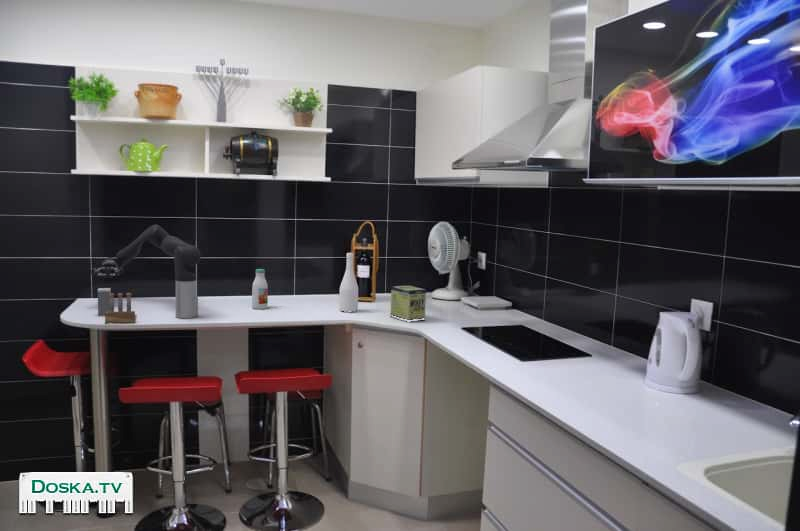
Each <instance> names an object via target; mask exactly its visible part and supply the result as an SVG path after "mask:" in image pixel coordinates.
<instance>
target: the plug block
mask: <svg viewBox="0 0 800 531" xmlns="http://www.w3.org/2000/svg"><path fill="white" fill-rule="evenodd" d="M110 293H111V287H102V288H101V287H100V288H97V317H105V312H110V306H109V294H110Z"/></svg>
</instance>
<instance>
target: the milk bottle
mask: <svg viewBox="0 0 800 531" xmlns="http://www.w3.org/2000/svg"><path fill="white" fill-rule="evenodd" d="M265 273H266V271H265V268H257V269H255V278H254V280H253V282H252V287H251V288H252V290H251V307H252V309H255V310H266V309H268V299H269V298H268V296H269V293H268V290H269V287H268V282H267V280H266V276H265Z"/></svg>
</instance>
